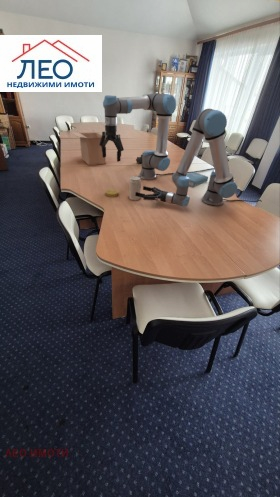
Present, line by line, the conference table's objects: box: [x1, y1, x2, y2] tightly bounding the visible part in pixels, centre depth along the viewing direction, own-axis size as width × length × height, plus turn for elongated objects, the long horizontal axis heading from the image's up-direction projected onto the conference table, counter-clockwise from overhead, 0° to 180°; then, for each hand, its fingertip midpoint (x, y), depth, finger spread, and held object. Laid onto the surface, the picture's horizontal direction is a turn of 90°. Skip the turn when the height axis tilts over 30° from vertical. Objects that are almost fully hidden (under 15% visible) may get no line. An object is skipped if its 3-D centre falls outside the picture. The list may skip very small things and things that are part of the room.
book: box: [186, 171, 209, 188], centre depth 201 cm, size 23×16×5 cm
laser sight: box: [135, 153, 143, 165], centre depth 238 cm, size 10×22×10 cm, turn 78°
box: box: [70, 129, 107, 166], centre depth 229 cm, size 44×36×27 cm
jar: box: [128, 175, 142, 201], centre depth 162 cm, size 8×8×15 cm
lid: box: [105, 189, 119, 198], centre depth 168 cm, size 9×9×2 cm
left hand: (111, 159), depth 154 cm, fingers open, 13 cm apart
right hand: (139, 190), depth 161 cm, fingers open, 13 cm apart
